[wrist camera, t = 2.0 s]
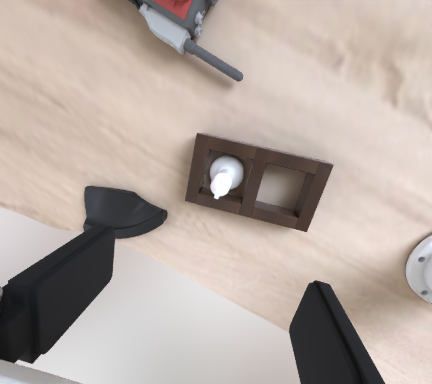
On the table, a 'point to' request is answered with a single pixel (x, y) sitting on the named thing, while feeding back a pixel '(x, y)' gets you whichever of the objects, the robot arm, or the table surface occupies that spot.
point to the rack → (258, 182)
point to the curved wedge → (121, 211)
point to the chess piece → (225, 175)
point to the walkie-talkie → (182, 27)
